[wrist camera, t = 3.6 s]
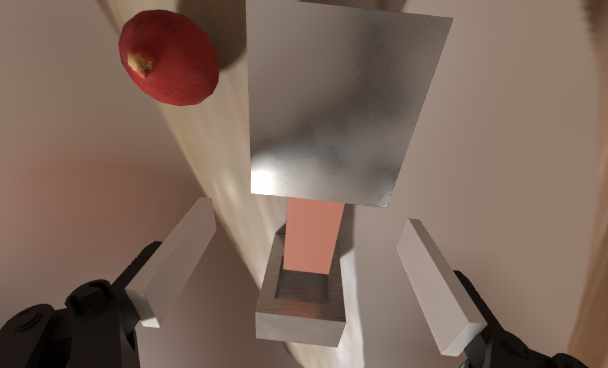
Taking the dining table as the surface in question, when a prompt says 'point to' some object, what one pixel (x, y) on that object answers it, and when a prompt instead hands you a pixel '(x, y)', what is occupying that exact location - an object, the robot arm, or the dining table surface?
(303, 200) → the pink square post
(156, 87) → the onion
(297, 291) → the socket
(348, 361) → the dining table surface
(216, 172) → the dining table surface
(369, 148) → the plate
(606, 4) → the dining table surface
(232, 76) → the dining table surface
